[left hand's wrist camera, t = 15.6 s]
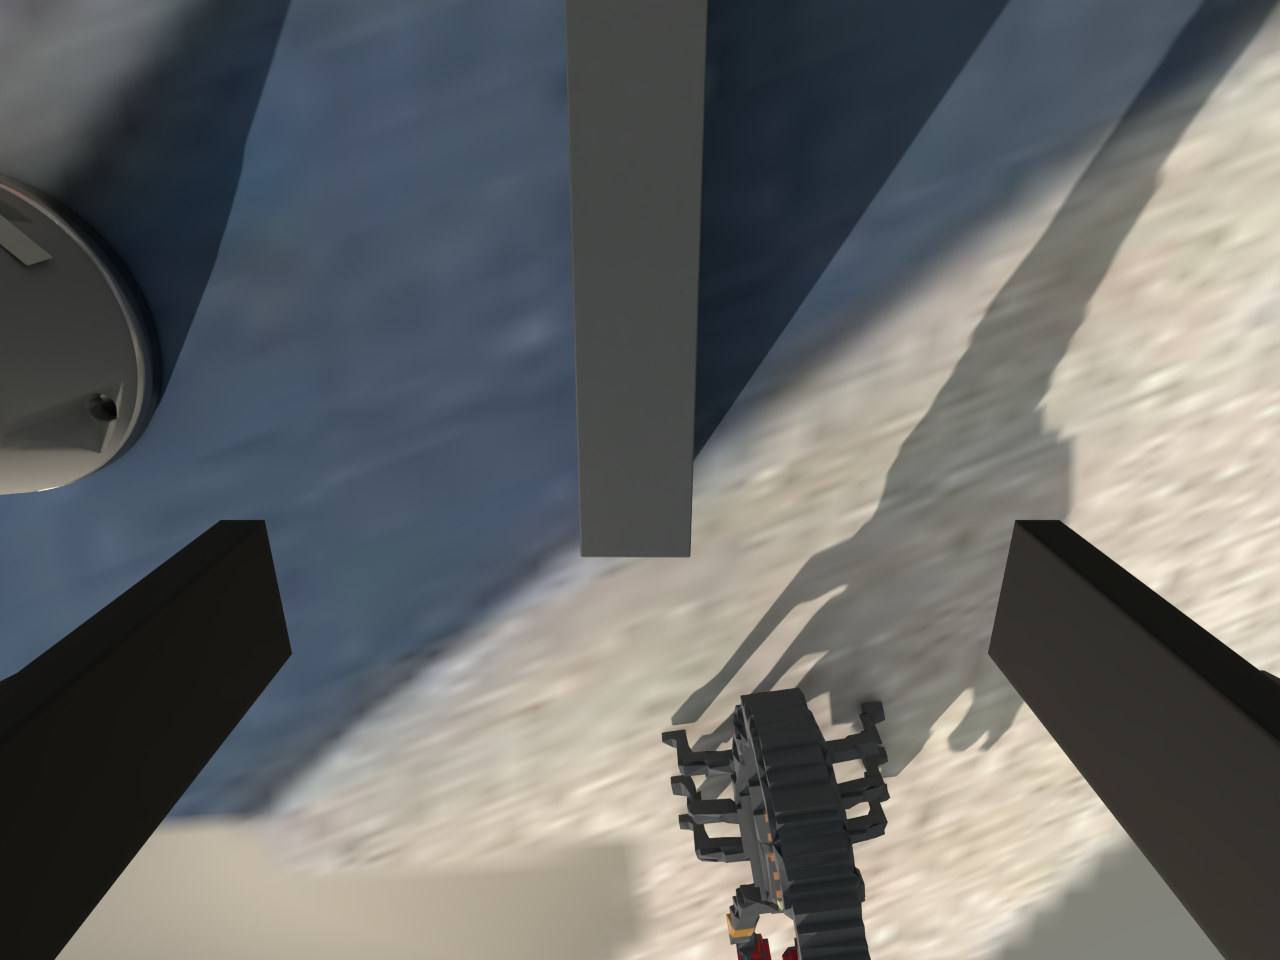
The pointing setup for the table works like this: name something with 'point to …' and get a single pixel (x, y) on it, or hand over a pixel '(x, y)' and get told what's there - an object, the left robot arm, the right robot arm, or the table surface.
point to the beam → (636, 266)
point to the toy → (789, 822)
